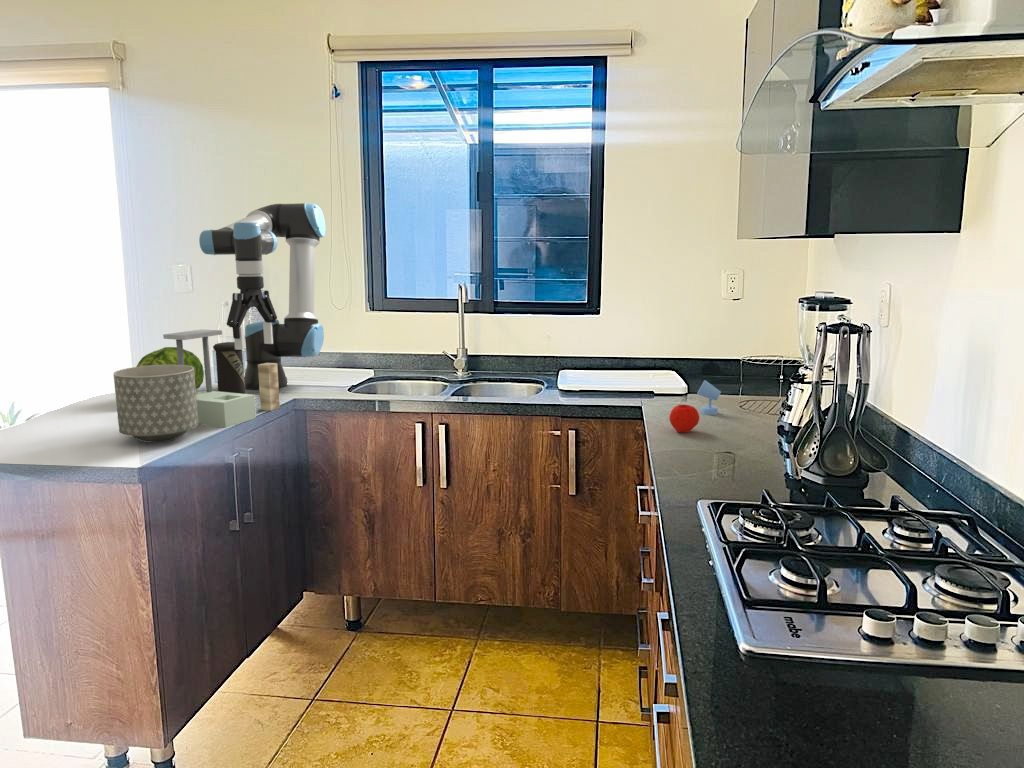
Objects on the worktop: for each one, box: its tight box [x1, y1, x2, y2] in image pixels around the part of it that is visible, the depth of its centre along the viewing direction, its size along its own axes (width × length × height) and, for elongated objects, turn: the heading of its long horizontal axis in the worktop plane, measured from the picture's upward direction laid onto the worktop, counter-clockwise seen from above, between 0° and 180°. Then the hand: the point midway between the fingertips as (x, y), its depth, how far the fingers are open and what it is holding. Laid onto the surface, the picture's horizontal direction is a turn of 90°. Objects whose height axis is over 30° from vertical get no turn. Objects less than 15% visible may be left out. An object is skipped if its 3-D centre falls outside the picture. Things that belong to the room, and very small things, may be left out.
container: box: [212, 341, 247, 394], centre depth 244 cm, size 9×9×20 cm
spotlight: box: [696, 379, 722, 416], centre depth 230 cm, size 5×10×7 cm
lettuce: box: [135, 346, 205, 390], centre depth 251 cm, size 18×23×19 cm
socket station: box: [162, 328, 257, 428], centre depth 224 cm, size 20×14×25 cm
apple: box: [668, 404, 700, 434], centre depth 208 cm, size 8×8×7 cm
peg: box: [258, 363, 281, 412], centre depth 239 cm, size 4×4×14 cm
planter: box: [113, 365, 199, 443], centre depth 203 cm, size 19×19×18 cm
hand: (254, 346), depth 235 cm, fingers open, 13 cm apart
